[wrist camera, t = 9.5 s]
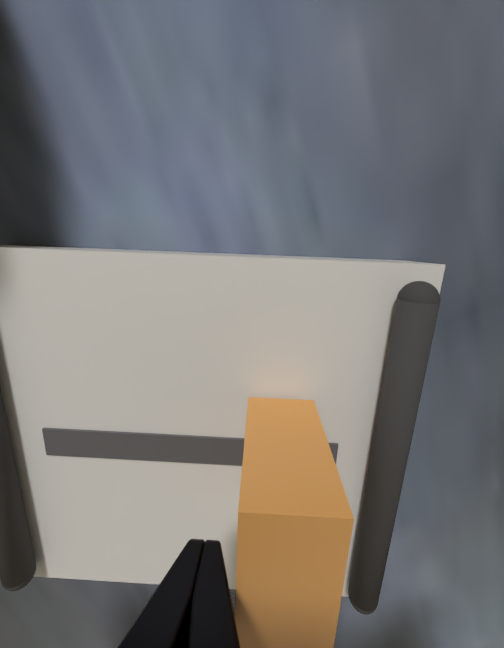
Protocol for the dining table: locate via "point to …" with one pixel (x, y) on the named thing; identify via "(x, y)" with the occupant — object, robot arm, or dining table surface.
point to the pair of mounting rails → (383, 472)
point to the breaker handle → (289, 529)
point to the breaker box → (177, 389)
